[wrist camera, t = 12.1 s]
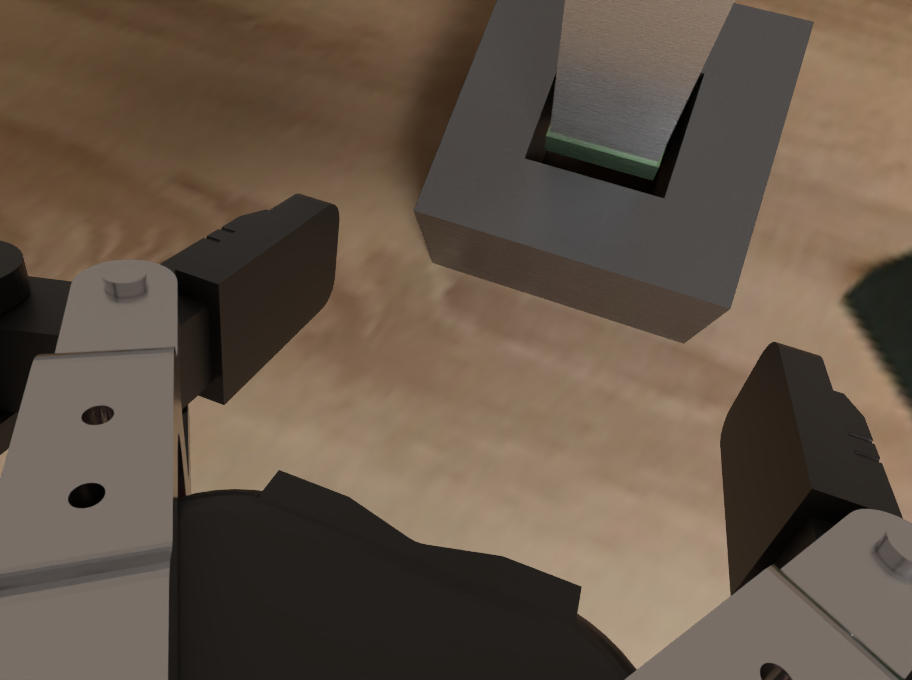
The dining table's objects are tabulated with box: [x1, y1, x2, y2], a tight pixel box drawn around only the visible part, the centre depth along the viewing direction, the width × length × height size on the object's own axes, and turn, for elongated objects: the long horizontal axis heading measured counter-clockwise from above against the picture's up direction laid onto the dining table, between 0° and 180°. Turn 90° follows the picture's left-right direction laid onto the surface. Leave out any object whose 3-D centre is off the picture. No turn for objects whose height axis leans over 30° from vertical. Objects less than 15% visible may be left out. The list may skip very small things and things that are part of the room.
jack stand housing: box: [414, 0, 814, 343], centre depth 26 cm, size 12×12×6 cm
